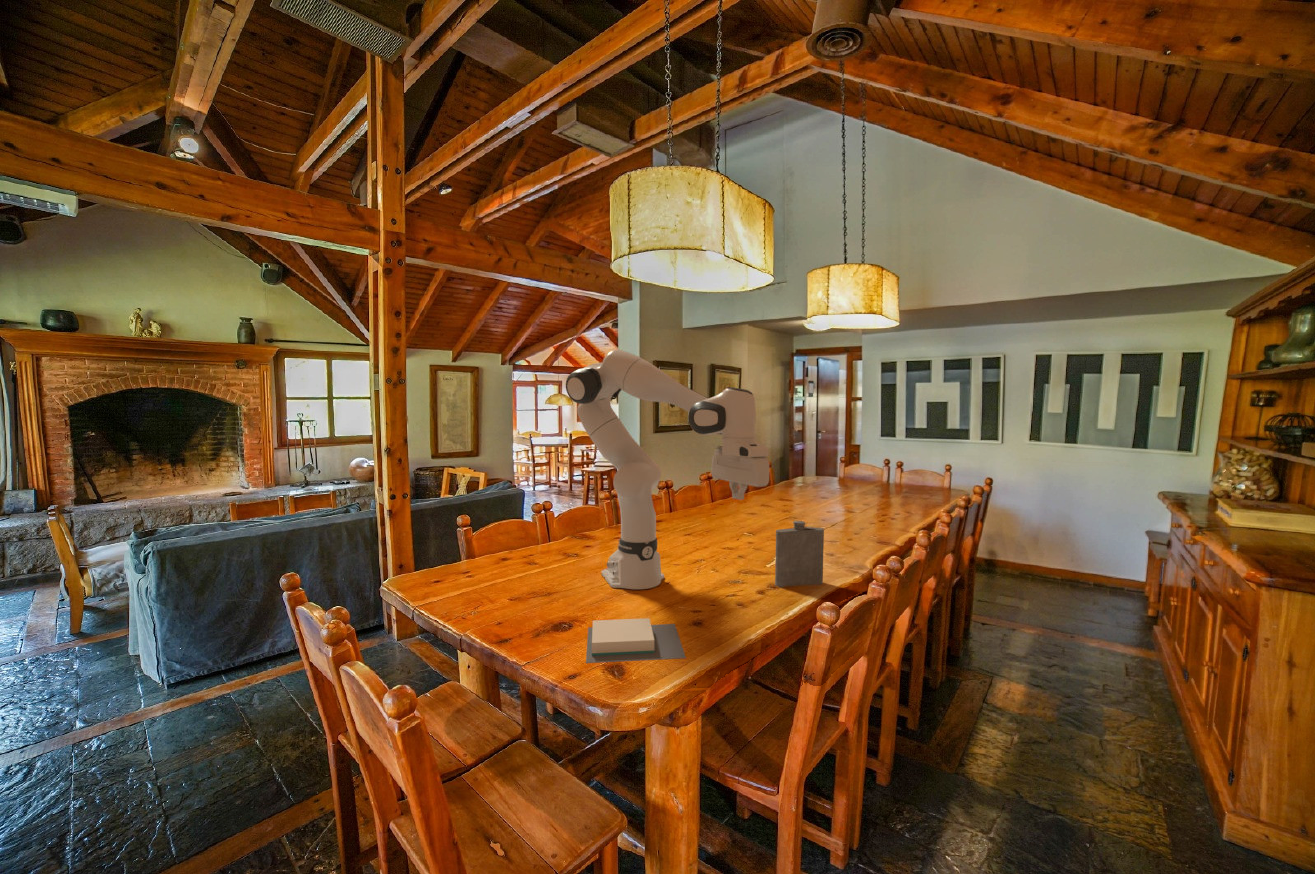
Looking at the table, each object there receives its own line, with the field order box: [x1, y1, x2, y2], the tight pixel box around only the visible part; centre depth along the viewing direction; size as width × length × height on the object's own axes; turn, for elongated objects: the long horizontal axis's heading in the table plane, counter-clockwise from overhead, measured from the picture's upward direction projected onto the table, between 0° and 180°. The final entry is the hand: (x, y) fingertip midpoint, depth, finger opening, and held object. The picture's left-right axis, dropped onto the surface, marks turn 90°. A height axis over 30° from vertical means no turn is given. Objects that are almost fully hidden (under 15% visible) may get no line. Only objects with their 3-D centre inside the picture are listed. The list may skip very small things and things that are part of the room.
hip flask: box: [774, 520, 825, 588], centre depth 163 cm, size 16×4×20 cm, turn 102°
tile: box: [592, 617, 654, 656], centre depth 122 cm, size 3×12×14 cm
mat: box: [585, 623, 687, 664], centre depth 122 cm, size 22×18×1 cm
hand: (738, 498), depth 139 cm, fingers closed
